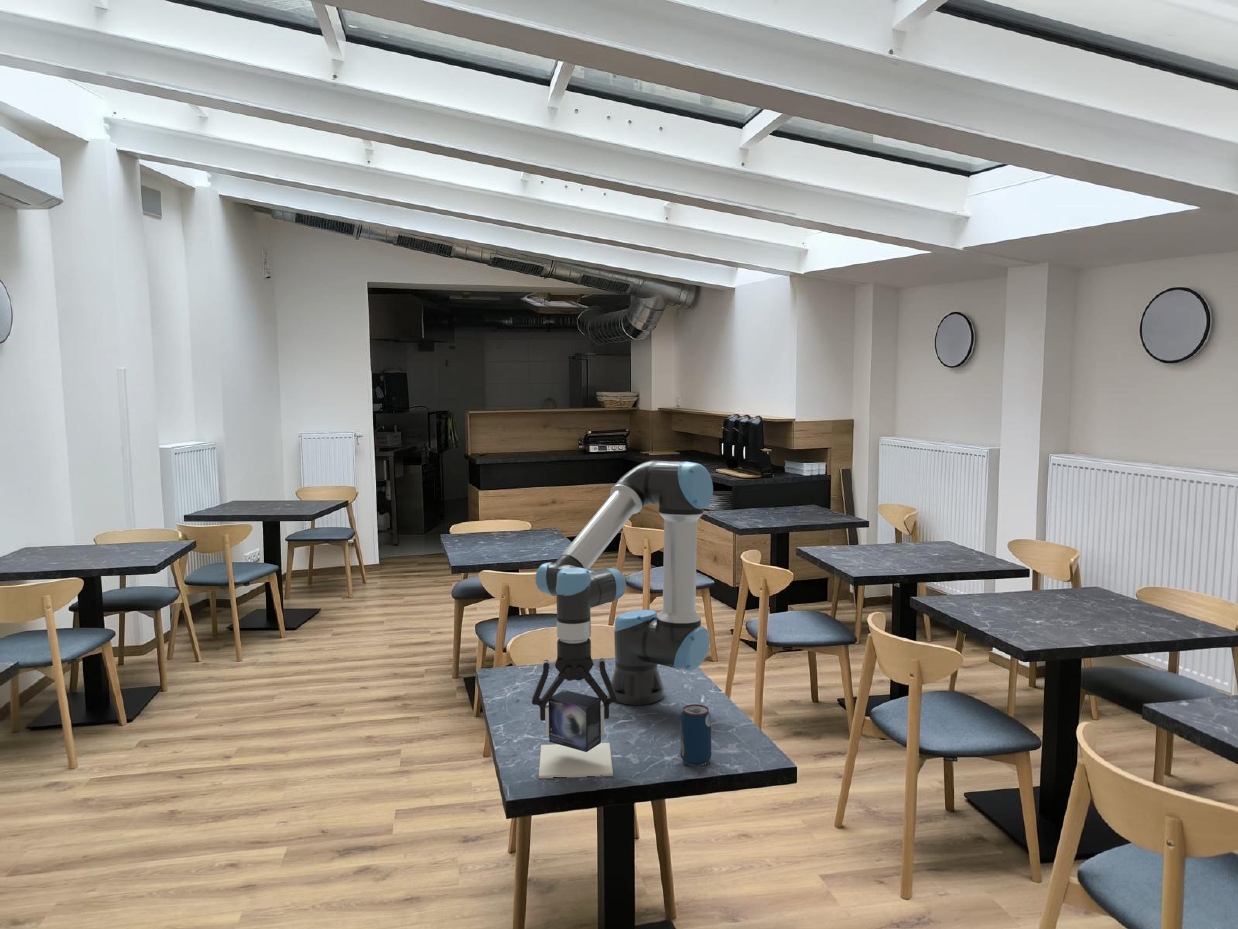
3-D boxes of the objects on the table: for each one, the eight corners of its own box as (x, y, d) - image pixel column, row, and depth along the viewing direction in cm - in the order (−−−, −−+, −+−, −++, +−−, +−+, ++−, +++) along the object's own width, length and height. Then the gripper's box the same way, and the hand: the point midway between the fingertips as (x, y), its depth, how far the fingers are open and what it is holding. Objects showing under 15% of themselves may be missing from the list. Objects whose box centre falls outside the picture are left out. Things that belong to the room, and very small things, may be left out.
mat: (609, 745, 197) (609, 742, 197) (612, 775, 181) (612, 773, 181) (541, 747, 196) (541, 745, 196) (538, 778, 180) (538, 775, 180)
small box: (547, 743, 188) (546, 697, 188) (564, 733, 194) (563, 689, 193) (586, 753, 183) (585, 706, 182) (602, 742, 188) (601, 697, 188)
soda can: (717, 760, 188) (717, 708, 187) (697, 770, 184) (697, 717, 183) (693, 751, 193) (693, 701, 192) (674, 761, 188) (673, 709, 187)
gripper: (626, 632, 191) (626, 725, 193) (520, 635, 190) (522, 728, 191) (628, 642, 183) (629, 738, 185) (518, 644, 182) (520, 741, 184)
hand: (574, 733), depth 188 cm, fingers closed on small box, 12 cm apart
